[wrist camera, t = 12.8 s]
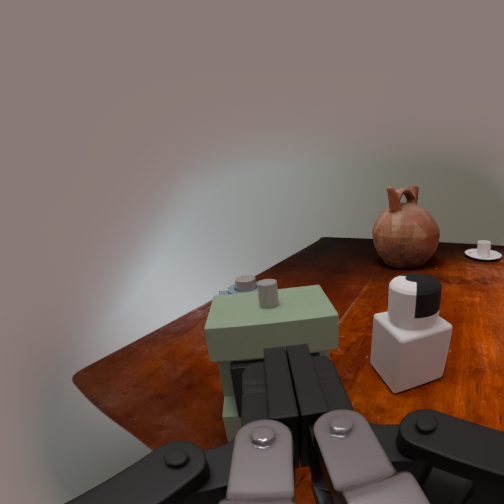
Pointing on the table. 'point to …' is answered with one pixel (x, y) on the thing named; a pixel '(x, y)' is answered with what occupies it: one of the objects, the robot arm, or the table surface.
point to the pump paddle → (236, 376)
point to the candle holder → (483, 251)
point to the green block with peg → (266, 330)
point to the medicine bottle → (410, 333)
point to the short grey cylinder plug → (245, 283)
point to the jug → (405, 231)
